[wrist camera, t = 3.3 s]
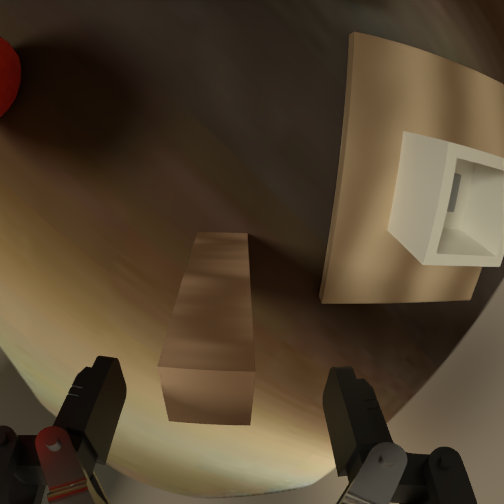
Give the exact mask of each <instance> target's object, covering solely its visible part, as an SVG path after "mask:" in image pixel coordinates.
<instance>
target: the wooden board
mask: <svg viewBox="0 0 504 504" xmlns="http://www.w3.org/2000/svg"><path fill="white" fill-rule="evenodd" d="M403 131H405V132H410V133H415V134H419V135H424V136H428V137H432V138H436V139H440V140H444V141H448V142H452V143H456V144H459V145H463V146H466V147H470V148H473V149H477V150H480V151H483V152H486V153H490V154H493V155H496V156H499V157H502V158H504V84H502V83H500V82H498V81H496V80H494V79H492V78H490V77H488V76H486V75H484V74H481V73H479V72H477V71H475V70H473V69H470V68H468V67H466V66H463V65H461V64H458V63H456V62H453V61H451V60H448V59H446V58H443V57H440V56H438V55H435V54H432V53H429V52H426V51H423V50H420V49H417V48H414V47H411V46H408V45H405V44H401V43H398V42H394V41H391V40H387V39H383V38H380V37H376V36H372V35H368V34H363V33H359V32H353V33H351V34H349V46H348V65H347V81H346V95H345V108H344V119H343V130H342V140H341V149H340V158H339V167H338V175H337V183H336V191H335V199H334V206H333V213H332V220H331V227H330V233H329V240H328V246H327V252H326V258H325V264H324V270H323V275H322V281H321V287H320V292H319V298H320V301H321V303H322V304H358V303H409V302H437V301H458V300H470V299H471V297H472V294H473V291H474V289H475V286H476V283H477V281H478V278H479V275H480V272H481V269H482V266H442V265H422V264H421V263H420V262H419V261H418V260H417V259H416V258H415V257H414V256H413V255H412V254H411V253H410V252H409V251H408V250H407V249H406V248H405V247H404V246H403V245H402V244H401V243H400V242H399V241H398V240H397V239H396V238H395V237H394V236H393V235H392V234H391V233H389V232H388V231H387V229H388V224H389V219H390V214H391V209H392V204H393V198H394V192H395V187H396V180H397V174H398V168H399V161H400V154H401V146H402V138H403Z"/></svg>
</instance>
